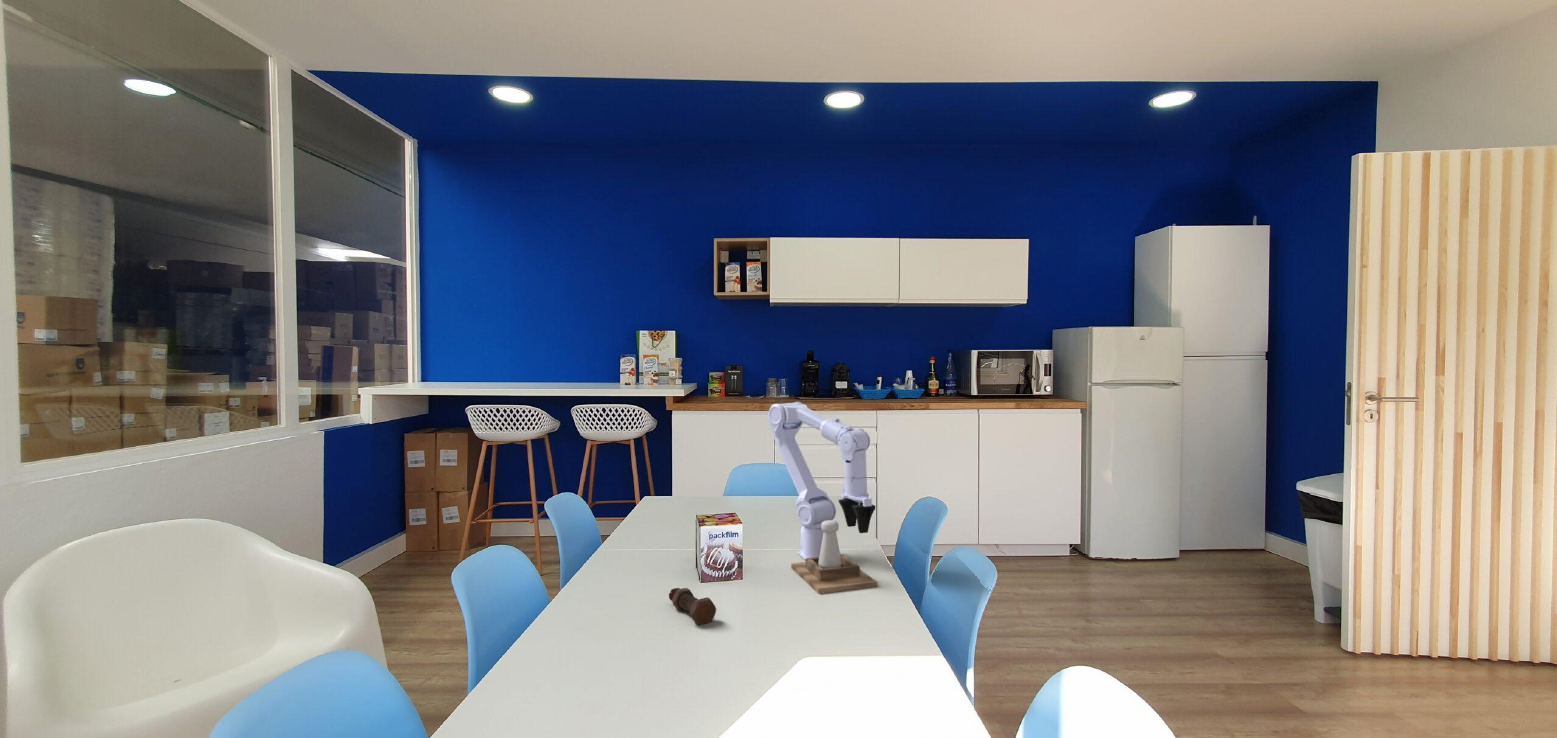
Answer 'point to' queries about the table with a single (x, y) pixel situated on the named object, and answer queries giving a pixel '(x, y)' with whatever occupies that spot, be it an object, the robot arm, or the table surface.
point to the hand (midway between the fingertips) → (857, 529)
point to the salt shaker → (829, 546)
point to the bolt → (693, 605)
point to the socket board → (833, 575)
